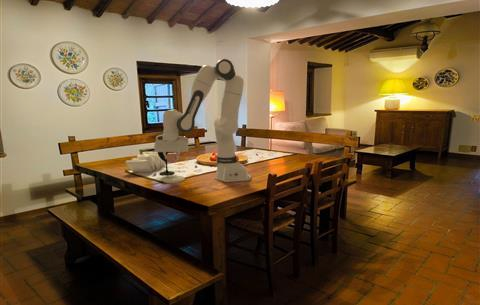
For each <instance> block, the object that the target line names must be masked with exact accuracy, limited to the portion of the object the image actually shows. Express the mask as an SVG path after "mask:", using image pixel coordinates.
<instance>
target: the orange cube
mask: <svg viewBox="0 0 480 305" xmlns="http://www.w3.org/2000/svg"><path fill="white" fill-rule="evenodd" d="M177 155H178V154H177V152H174V153H168V154H167V164H169V163H170V164H171V163H173V164H175V163H177V162H178V159H176V156H177Z"/></svg>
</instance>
